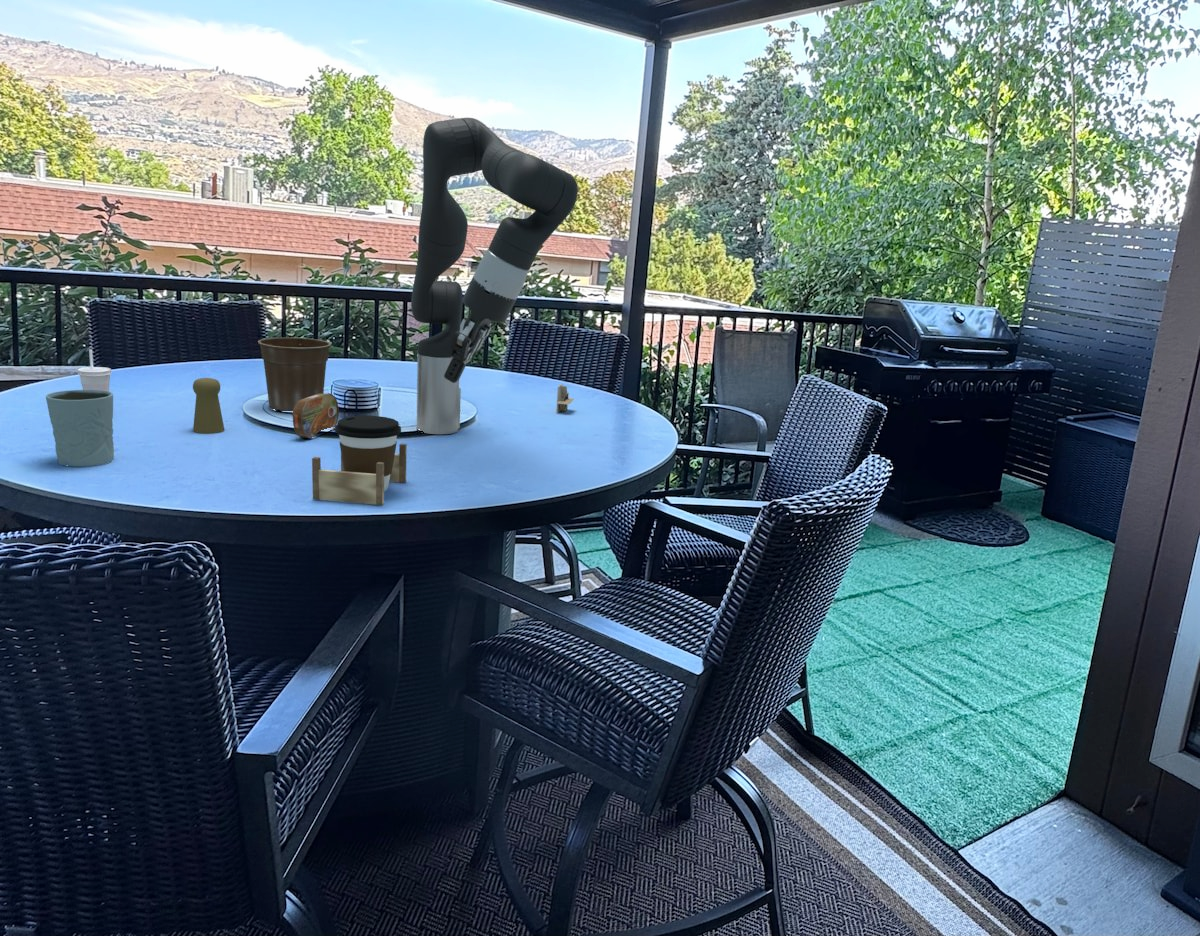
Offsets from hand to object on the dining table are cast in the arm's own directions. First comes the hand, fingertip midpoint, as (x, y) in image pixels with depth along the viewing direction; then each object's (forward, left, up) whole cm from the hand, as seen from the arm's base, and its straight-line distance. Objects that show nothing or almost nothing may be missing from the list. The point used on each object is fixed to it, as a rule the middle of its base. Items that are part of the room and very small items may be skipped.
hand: (450, 379), depth 138 cm
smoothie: (-5, -96, -21) cm, 98 cm away
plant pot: (-37, -70, -21) cm, 82 cm away
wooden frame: (+4, -15, -21) cm, 26 cm away
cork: (-9, -67, -21) cm, 70 cm away
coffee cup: (+3, -14, -21) cm, 25 cm away
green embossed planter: (+20, -64, -21) cm, 70 cm away
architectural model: (-81, -20, -21) cm, 86 cm away
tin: (-21, -49, -21) cm, 57 cm away
